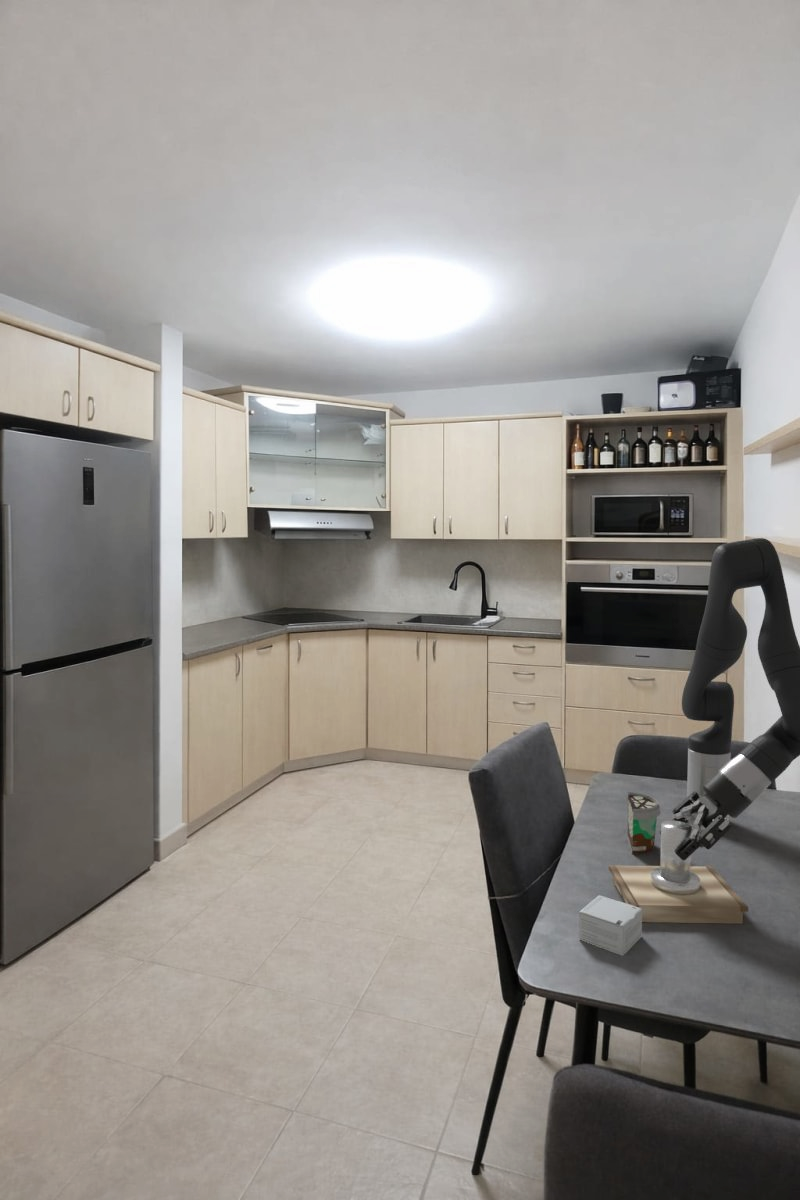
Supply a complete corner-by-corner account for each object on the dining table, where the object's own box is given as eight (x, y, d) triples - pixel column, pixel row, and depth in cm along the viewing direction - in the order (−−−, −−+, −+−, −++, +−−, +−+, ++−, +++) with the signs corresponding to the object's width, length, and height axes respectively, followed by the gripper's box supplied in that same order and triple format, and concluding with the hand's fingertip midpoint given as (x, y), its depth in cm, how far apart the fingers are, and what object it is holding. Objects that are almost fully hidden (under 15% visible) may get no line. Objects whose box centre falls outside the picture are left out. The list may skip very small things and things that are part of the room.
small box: (598, 922, 127) (598, 893, 127) (642, 938, 122) (643, 907, 122) (577, 940, 121) (577, 910, 121) (623, 957, 116) (623, 926, 116)
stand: (608, 880, 143) (608, 864, 143) (710, 881, 143) (711, 866, 142) (631, 922, 127) (632, 905, 127) (747, 924, 126) (748, 907, 126)
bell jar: (645, 874, 139) (646, 817, 138) (690, 874, 139) (691, 817, 138) (659, 895, 131) (660, 834, 130) (707, 895, 130) (708, 834, 130)
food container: (663, 859, 153) (664, 811, 152) (632, 856, 154) (633, 809, 154) (655, 836, 165) (656, 792, 164) (626, 834, 166) (627, 791, 166)
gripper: (707, 759, 140) (644, 818, 141) (738, 783, 126) (668, 848, 127) (734, 787, 140) (672, 845, 141) (769, 813, 126) (699, 878, 127)
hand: (670, 846), depth 134 cm, fingers open, 8 cm apart
